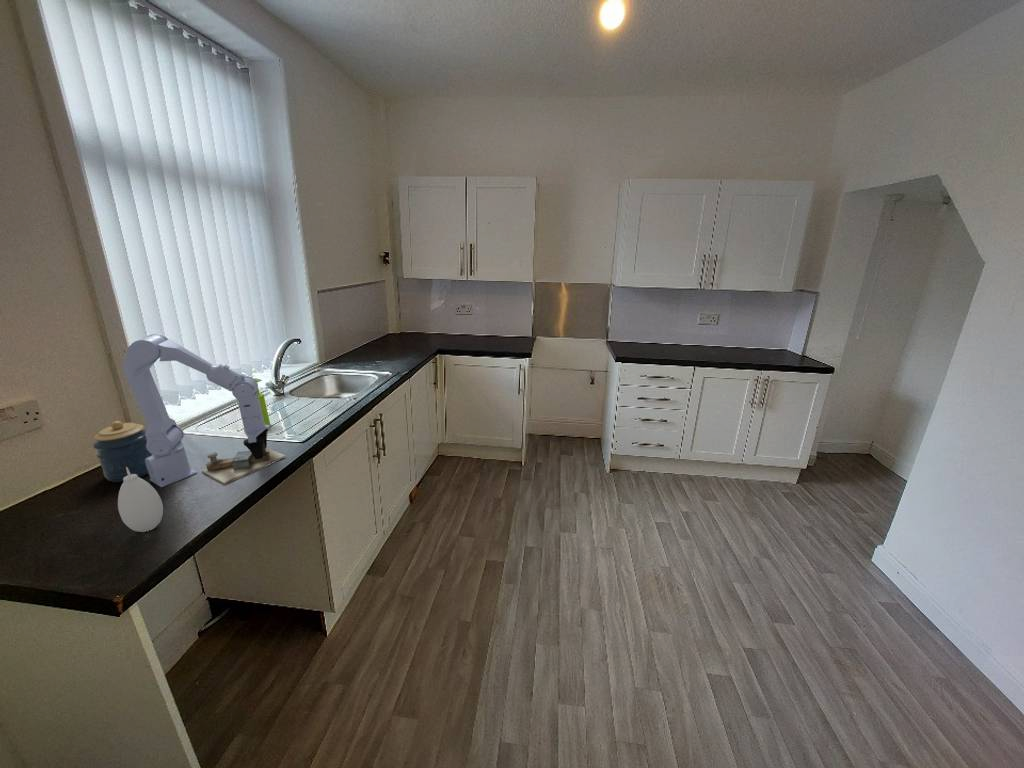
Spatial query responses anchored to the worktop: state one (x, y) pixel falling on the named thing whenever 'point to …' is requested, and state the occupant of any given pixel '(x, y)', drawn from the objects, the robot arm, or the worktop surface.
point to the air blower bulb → (139, 504)
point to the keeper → (242, 460)
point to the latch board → (230, 474)
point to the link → (222, 463)
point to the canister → (122, 450)
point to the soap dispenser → (263, 405)
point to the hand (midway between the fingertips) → (261, 453)
